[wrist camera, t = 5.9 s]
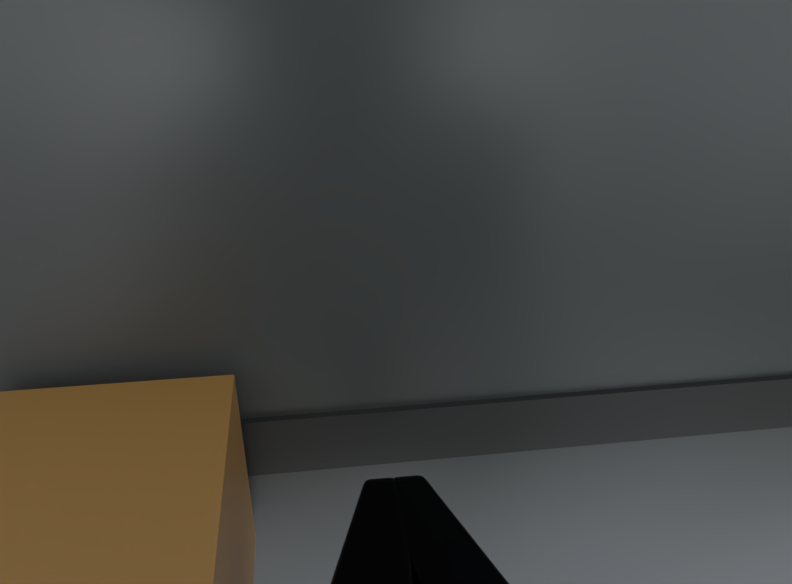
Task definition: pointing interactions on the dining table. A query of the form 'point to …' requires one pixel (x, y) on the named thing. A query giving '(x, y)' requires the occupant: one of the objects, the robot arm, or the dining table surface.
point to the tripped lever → (125, 484)
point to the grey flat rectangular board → (429, 260)
